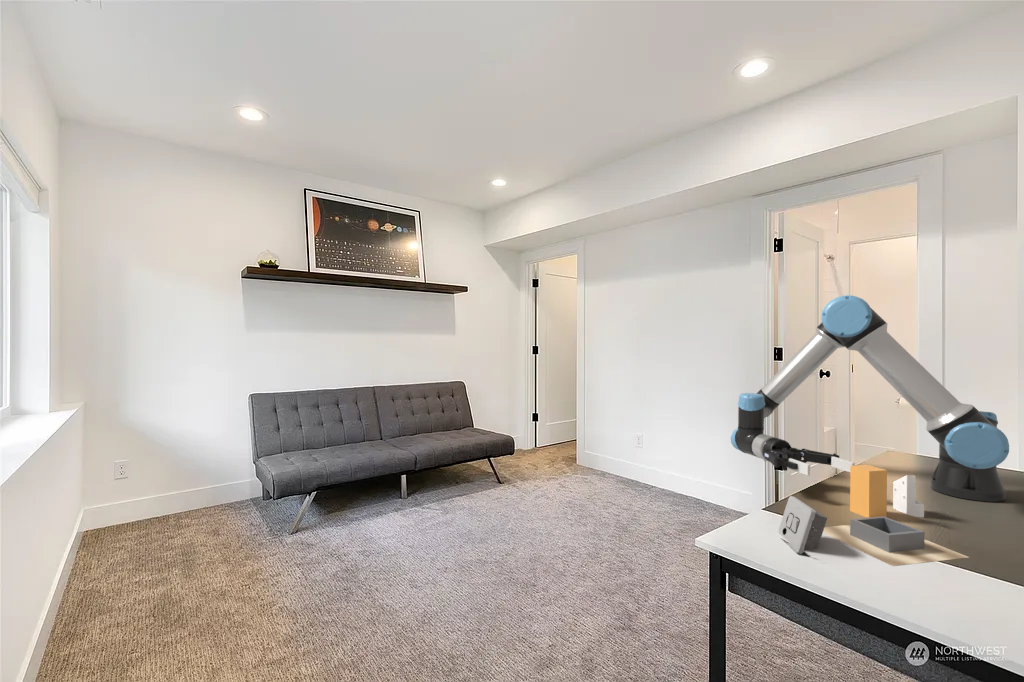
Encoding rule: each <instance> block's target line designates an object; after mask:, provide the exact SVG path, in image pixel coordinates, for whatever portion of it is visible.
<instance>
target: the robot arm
mask: <svg viewBox="0 0 1024 682" xmlns="http://www.w3.org/2000/svg"><path fill="white" fill-rule="evenodd" d="M820 318H821V319H820V320H821V322H820V324H819V325H818V326H816V327H815V329H816V333H815V334H813V335H812V337H811V338H809V340H808V341H807V342H805V343H804V345H802V347H801V348H800V349H799V350H798V351H797V352H796V353H794V355H793V356H792V357H791V358H790V359H789V360H788V361H787V362H786V363H785V364H784V365H783V366H781V368H780V369H779V370H778V371H777V372H776V373H775V374H774V375H773V376H772V377H771V378H770V379H769V380H768V381H767V382H766V383H765V384H764V385H763V386H762V388H761V389H760V390H758V391H757V392H756V393H754V392H745V393H744V392H743V393H741V394H739V396H738V403H737V406H738V407H737V408H738V409H737V410H738V413H737V414H738V416H737V419H738V420H737V421H738V423H737V424H738V425H737V428H735V429H734V430H733V431H732V434H731V435H730V443H731V445H732V446H733V448H735V449H736V450H738V451H740V452H742V453H744V454H748V455H751V456H753V457H756V458H759V459H762V460H763V461H764V462H769V463H770V464H771V465H772V466H774V467H775V468H777V469H778V468H780V467H782V468H781V469H782V471H785V472H787V471H788V469H789V470H791V471H794V472H797V473H800V474H803V475H806V476H811V464H809V463H815V464H819V465H820V464H822V465H828V466H831V467H832V468H834V469H838V470H841V471H844V472H847V473H850V466H854V465H855V464H856V463H855V462H853V461H850V460H847V459H845V458H840V455H838V454H837V453H835V452H834V453H828V452H827V453H826V452H821V451H816V450H810V449H807V448H801V449H800V448H796V447H792V446H791V444H790V443H789V442H788V441H787V440H784V439H782V438H778V437H775V436H772V435H769V434H768V435H767V434H766V433H765V431H764V430H765V419H766V418H768V417H770V416H771V415H772V414H773V413H774V411H775V410H776V409H777V408H778V407H779V406H780V405H781V404H782V403H783V402H784V401H785V400H786V399H787V398H788V397H789V396H790V395H791V394H792V393H793V392H794V391H795V390H797V388H799V386H801V385H802V384H803V382H805V380H806V379H808V378H809V377H810V375H812V374H813V373H814V372H815V371H816V370H817V369H818V368H819V367H821V366H822V364H823V363H824V362H825V361H826V360H827V359H828V358H829V357H831V356H832V355H833V353H834V352H835V351H837V349H840V348H846V349H847V350H848V351H849V350H850V351H856V352H858V353H859V354H860V355H861V356H862V357H863V358H864V360H866V361H867V362H868V363H869V364H870V365H871V366H872V367H873V368H874V369H875V370H876V372H877V373H879V374H880V375H881V376H882V378H884V380H886V382H887V383H889V385H890V386H891V387H892V388H893V389H894V390H896V392H897V393H898V394H899V395H900V397H902V398H904V399H903V400H905V401H906V402H907V403H908V404H909V405H910V406H911V408H913V409H914V410H915V411H916V412H917V413H918V414H919V415H920V416H921V417H922V418H923V420H925V421H926V426H925V427H926V428H925V430H926V431H927V432H928V433H929V434H930V435H931V436H932V437H933V438H934V440H935V441H937V442H938V444H939V447H938V448H939V449H938V451H939V452H938V455H939V456H938V463H937V464H936V467H935V470H934V472H933V474H932V476H931V478H930V488H931V489H932V490H933V491H935V492H938V493H939V494H940V493H941V494H944V495H946V496H950V497H956V498H960V499H965V500H971V501H979V502H991V503H992V502H996V503H997V502H1002V501H1006V493H1007V492H1006V489H1005V488H1004V484H1003V482H1002V479H1001V477H1000V474H999V472H998V469H997V466H999V465H1000V464H1002V463H1003V462H1004V461H1005V460H1006V459H1007V458H1008V455H1009V453H1010V443H1009V439H1008V437H1007V436H1006V434H1005V433H1004V432H1003V431H1002V430H1001V429H999V428H998V424H999V421H998V417H997V414H996V413H994V412H991V411H990V412H989V411H982V410H981V411H980V410H979V409H977V408H976V407H975V406H974V405H973V404H968V403H962V402H960V401H959V400H958V399H957V398H956V397H955V396H954V395H953V394H952V393H951V392H950V391H949V390H948V389H946V387H945V386H944V385H943V384H942V383H941V382H939V381H938V380H937V379H936V377H934V375H932V373H930V372H929V371H928V370H927V369H926V368H925V367H924V366H923V365H922V364H921V363H920V362H919V361H918V360H917V359H916V358H915V357H914V356H912V354H911V353H909V352H908V351H907V350H906V348H904V347H903V345H901V344H900V342H898V341H897V340H896V339H895V338H894V337H893V336H892V335H891V334H890V333H889V332H888V322H886V321H885V319H883V318H882V317H881V316H880V315H879V314H878V313H877V312H876V311H875V310H874V309H873V308H872V307H871V306H870V305H869V303H868V302H867V301H866V300H864V298H861V297H859V296H857V295H851V294H850V295H849V294H847V295H841V296H837V297H835V298H833V299H832V300H830V301H829V302H828V303H827V304H826V305H825V306H824V307H823V309H822V312H821V317H820ZM808 462H809V463H808Z"/></svg>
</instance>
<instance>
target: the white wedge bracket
mask: <svg viewBox="0 0 1024 682" xmlns="http://www.w3.org/2000/svg"><path fill="white" fill-rule="evenodd" d="M916 478H917V476H916V475H915V474H914V475H913V474H906V475H905V476H904V475H903V476H902V477H900V478H898V479H896V480H894V481H893V483H892V489H893V490H892V491H893V492H892V493H893V494H892V508H893V509H894V510H895V509H896V510H895V511H897V512H901V513H903V514H905V515H908V516H911V517H914V518H924V517H925V504H924V503H922V502H920V501H918V500H917V499H916V494H917V493H916V492H917V491H916V484H917V483H916V480H917V479H916Z"/></svg>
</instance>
